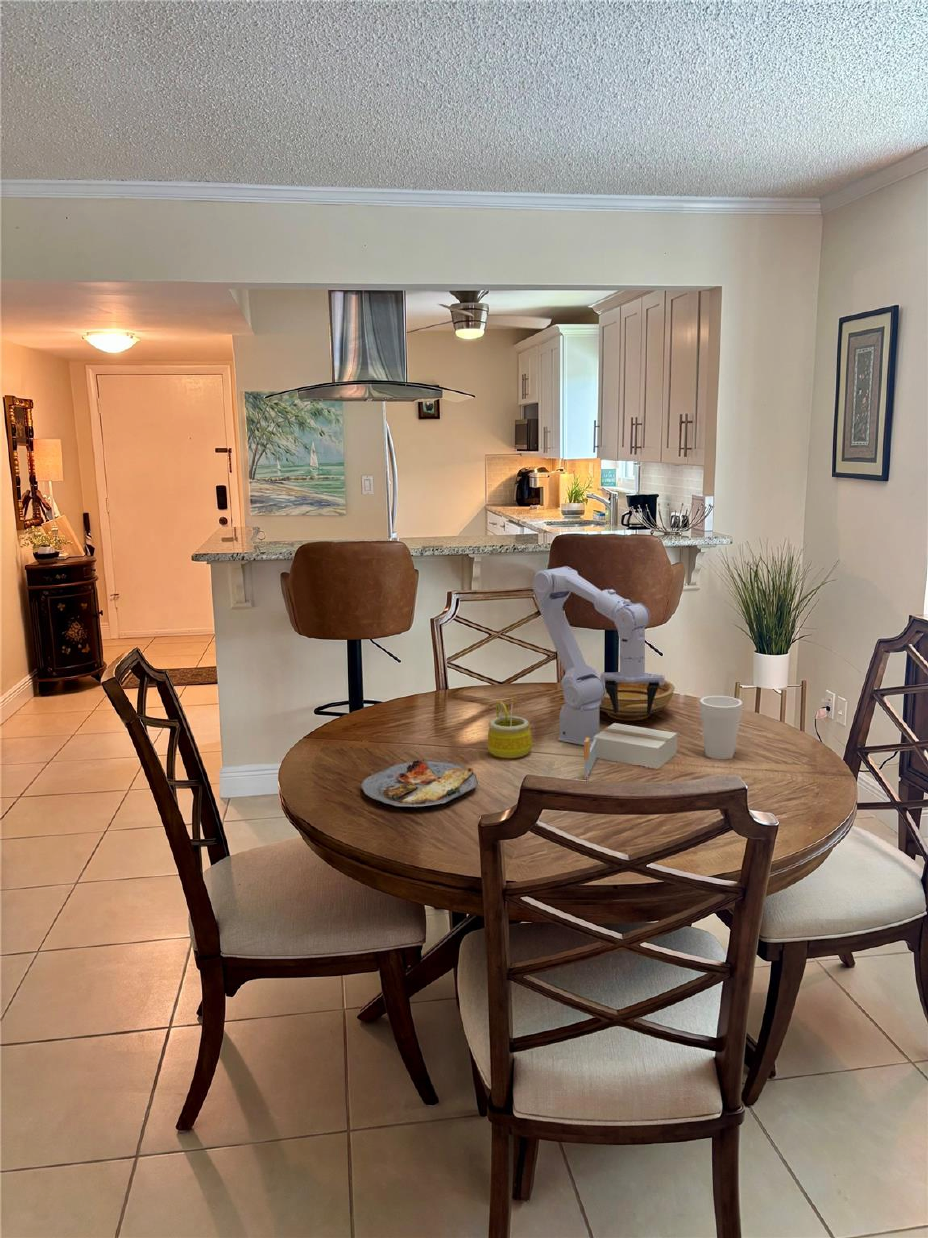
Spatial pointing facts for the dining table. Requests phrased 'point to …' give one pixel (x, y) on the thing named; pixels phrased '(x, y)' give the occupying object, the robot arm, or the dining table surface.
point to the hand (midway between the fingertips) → (632, 712)
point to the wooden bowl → (636, 700)
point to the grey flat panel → (589, 754)
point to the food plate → (420, 783)
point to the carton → (636, 745)
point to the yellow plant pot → (509, 735)
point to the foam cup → (720, 725)
